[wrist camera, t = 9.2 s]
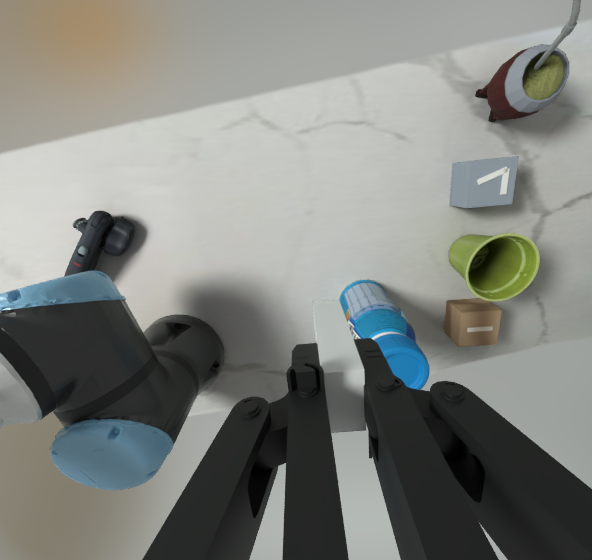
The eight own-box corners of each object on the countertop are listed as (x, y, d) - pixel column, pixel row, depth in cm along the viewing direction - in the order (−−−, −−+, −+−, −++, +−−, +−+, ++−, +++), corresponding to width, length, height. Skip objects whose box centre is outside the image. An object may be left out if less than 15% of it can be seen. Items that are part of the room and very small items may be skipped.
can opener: (105, 197, 45) (79, 200, 40) (144, 226, 46) (123, 232, 41) (57, 279, 50) (28, 291, 44) (94, 303, 51) (70, 317, 46)
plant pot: (510, 245, 46) (556, 259, 37) (467, 291, 48) (501, 313, 40) (467, 212, 44) (504, 218, 36) (425, 261, 47) (451, 278, 39)
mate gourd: (514, 127, 40) (629, 98, 26) (458, 121, 40) (543, 87, 26) (534, 64, 38) (672, -6, 24) (475, 57, 38) (578, -18, 24)
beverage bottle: (362, 267, 47) (401, 324, 29) (397, 299, 49) (456, 372, 30) (327, 302, 50) (341, 377, 31) (362, 331, 51) (396, 419, 32)
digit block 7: (449, 205, 44) (467, 208, 39) (452, 163, 42) (471, 160, 37) (489, 201, 44) (512, 204, 39) (494, 158, 42) (519, 155, 37)
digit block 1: (444, 331, 51) (458, 347, 46) (446, 300, 49) (462, 313, 44) (478, 329, 51) (497, 344, 46) (482, 297, 49) (502, 310, 44)
